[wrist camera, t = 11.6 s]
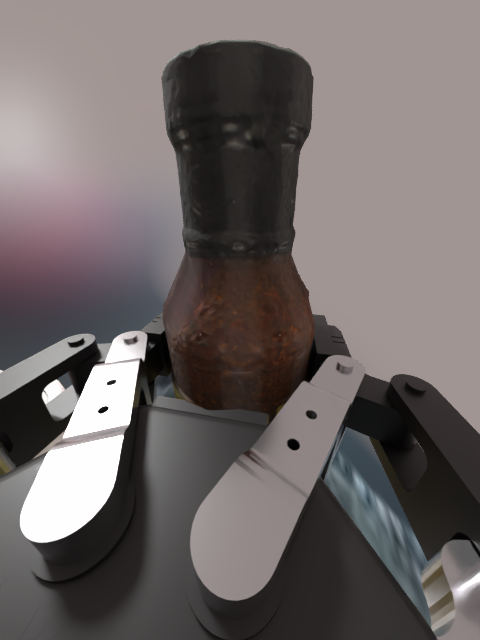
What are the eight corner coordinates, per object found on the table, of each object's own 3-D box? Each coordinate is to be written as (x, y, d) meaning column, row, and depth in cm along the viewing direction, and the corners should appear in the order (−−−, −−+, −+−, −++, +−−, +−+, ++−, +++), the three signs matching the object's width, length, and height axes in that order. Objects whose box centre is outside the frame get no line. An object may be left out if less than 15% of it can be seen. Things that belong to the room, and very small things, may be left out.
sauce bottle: (264, 433, 19) (298, 127, 10) (306, 522, 14) (458, 45, 5) (183, 456, 17) (134, 103, 8) (196, 570, 12) (100, -77, 3)
